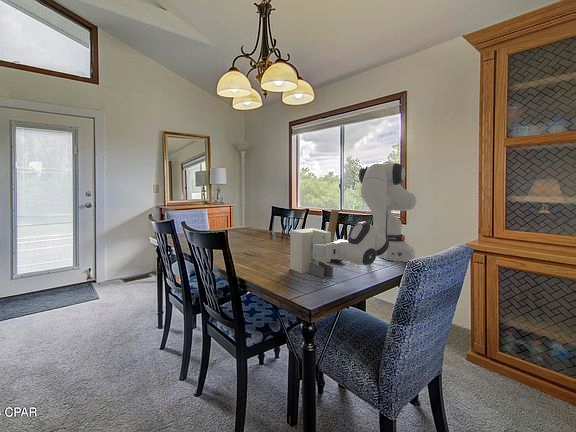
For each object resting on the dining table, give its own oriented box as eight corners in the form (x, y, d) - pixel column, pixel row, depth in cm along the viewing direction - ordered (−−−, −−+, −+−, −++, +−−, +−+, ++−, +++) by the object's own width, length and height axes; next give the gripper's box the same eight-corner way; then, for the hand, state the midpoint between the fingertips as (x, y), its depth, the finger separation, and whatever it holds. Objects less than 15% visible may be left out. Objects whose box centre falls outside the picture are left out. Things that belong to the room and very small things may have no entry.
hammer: (343, 266, 173) (353, 214, 166) (338, 268, 169) (348, 215, 162) (316, 254, 186) (324, 205, 179) (311, 255, 183) (318, 206, 176)
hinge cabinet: (339, 274, 150) (339, 233, 148) (316, 279, 142) (316, 236, 140) (312, 264, 168) (312, 228, 166) (290, 268, 160) (290, 230, 158)
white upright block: (330, 261, 146) (330, 232, 144) (324, 262, 144) (324, 232, 142) (316, 257, 154) (317, 229, 153) (310, 258, 152) (311, 230, 151)
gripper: (360, 240, 141) (339, 236, 153) (325, 244, 130) (305, 239, 142) (359, 253, 142) (339, 248, 153) (324, 259, 131) (305, 253, 142)
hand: (322, 244), depth 148 cm, fingers closed on white upright block, 3 cm apart
